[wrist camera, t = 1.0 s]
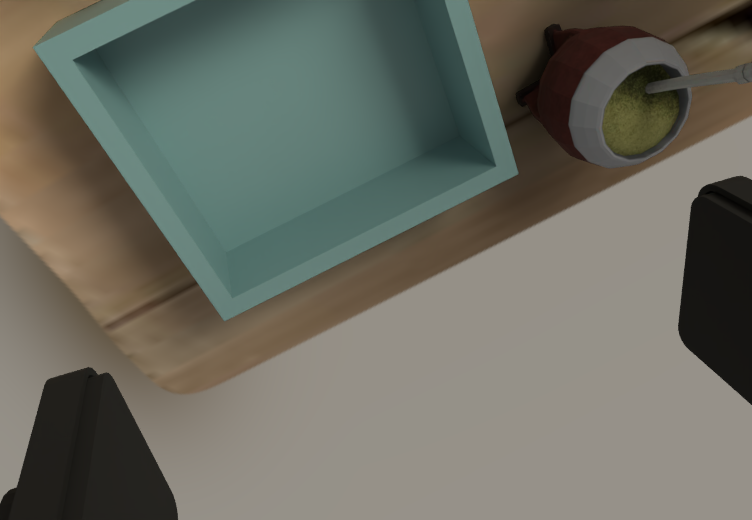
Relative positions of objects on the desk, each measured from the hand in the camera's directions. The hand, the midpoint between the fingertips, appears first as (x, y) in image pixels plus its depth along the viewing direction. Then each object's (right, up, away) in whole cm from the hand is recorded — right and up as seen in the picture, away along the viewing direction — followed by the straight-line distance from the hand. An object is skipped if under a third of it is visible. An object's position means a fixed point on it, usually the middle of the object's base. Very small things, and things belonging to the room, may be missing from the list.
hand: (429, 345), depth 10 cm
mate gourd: (+10, +13, +28) cm, 32 cm away
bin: (-5, +10, +24) cm, 27 cm away
